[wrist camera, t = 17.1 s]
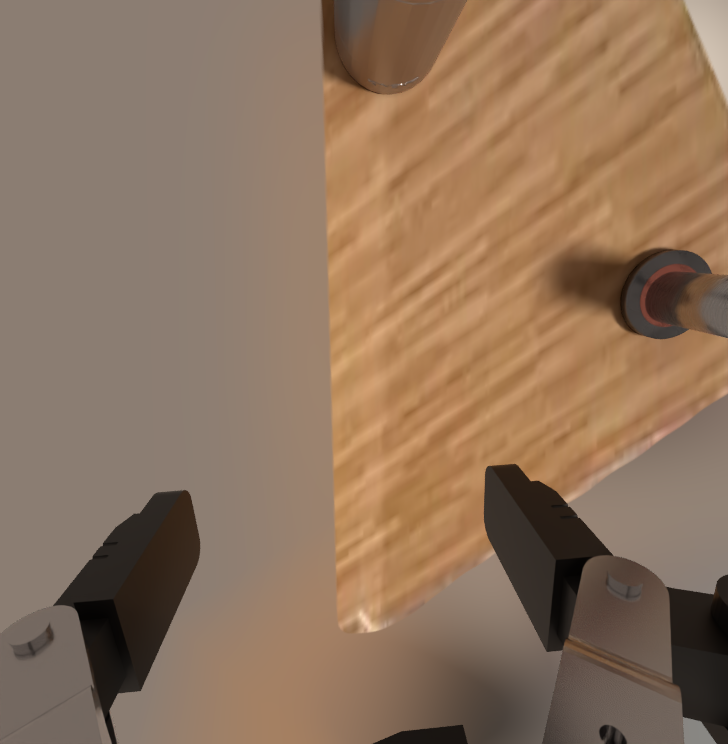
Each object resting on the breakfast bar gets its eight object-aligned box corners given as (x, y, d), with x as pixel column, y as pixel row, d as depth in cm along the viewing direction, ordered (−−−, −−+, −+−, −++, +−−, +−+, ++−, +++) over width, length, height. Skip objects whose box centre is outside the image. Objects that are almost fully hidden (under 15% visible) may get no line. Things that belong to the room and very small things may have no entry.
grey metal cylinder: (648, 273, 41) (742, 280, 32) (698, 269, 41) (807, 276, 32) (641, 324, 43) (729, 346, 33) (689, 320, 43) (790, 341, 33)
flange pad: (626, 253, 42) (634, 253, 41) (712, 247, 42) (722, 247, 41) (616, 339, 44) (622, 342, 43) (696, 334, 45) (705, 336, 44)
